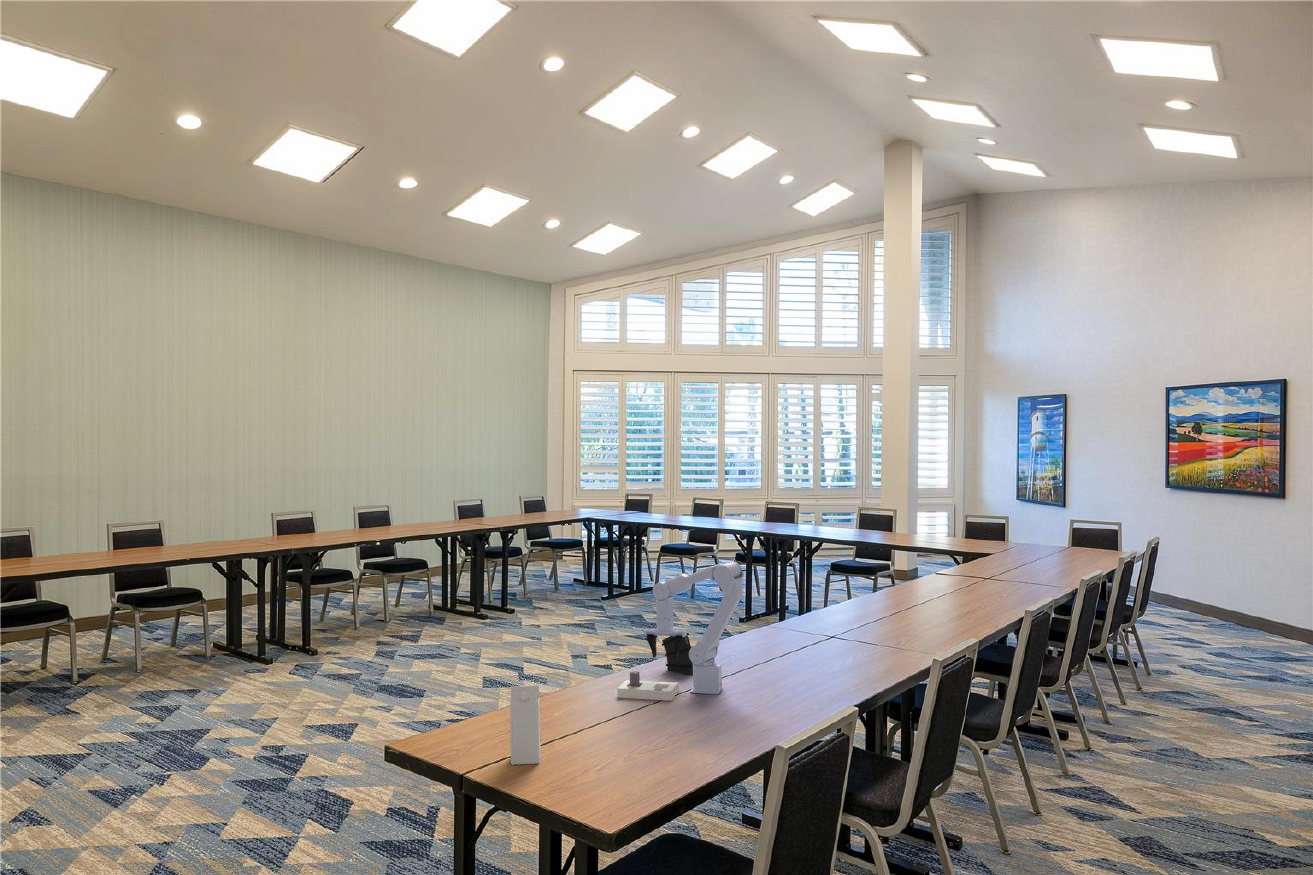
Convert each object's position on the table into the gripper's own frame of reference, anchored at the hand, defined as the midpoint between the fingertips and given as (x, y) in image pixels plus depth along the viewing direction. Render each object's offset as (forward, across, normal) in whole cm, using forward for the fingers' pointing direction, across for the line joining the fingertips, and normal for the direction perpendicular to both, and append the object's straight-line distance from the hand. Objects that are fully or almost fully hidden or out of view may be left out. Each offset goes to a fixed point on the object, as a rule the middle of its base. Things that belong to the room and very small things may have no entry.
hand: (665, 657), depth 284 cm
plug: (+9, -8, -12) cm, 17 cm away
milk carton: (+10, -19, -74) cm, 77 cm away
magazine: (+10, 0, +18) cm, 20 cm away
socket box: (+9, -3, -12) cm, 16 cm away
